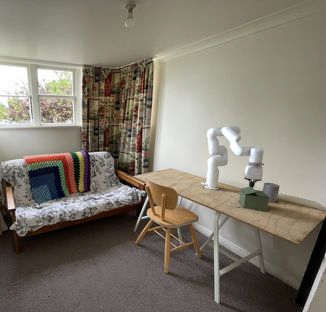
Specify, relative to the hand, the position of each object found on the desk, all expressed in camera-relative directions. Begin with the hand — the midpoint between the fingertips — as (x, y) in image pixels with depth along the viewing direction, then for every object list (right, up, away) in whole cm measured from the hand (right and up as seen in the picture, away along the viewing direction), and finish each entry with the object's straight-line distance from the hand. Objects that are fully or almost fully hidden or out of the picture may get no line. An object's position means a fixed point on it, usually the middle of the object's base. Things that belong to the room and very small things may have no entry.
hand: (251, 187), depth 148 cm
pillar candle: (+25, -13, +12) cm, 31 cm away
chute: (+3, -15, +2) cm, 16 cm away
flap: (-1, -3, +1) cm, 3 cm away
